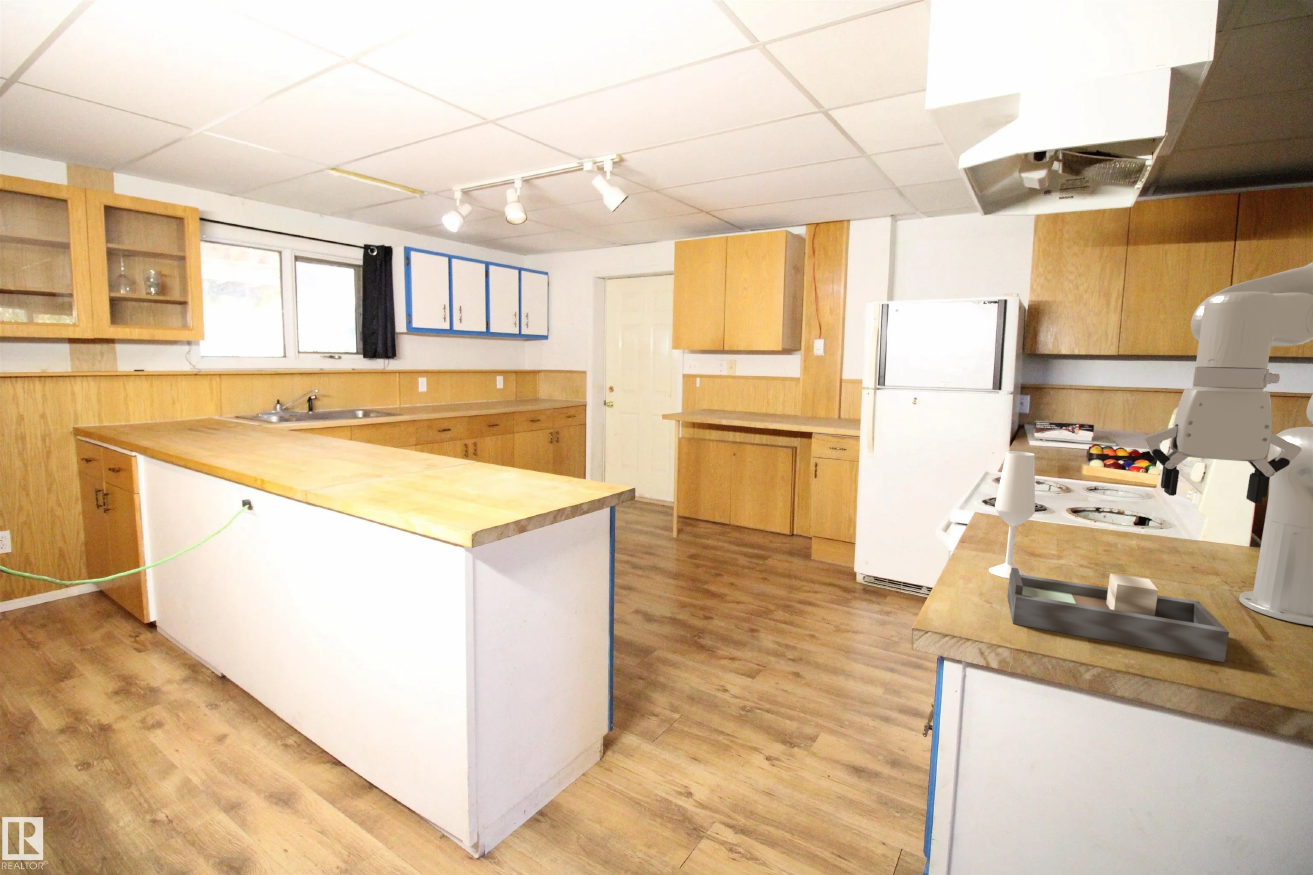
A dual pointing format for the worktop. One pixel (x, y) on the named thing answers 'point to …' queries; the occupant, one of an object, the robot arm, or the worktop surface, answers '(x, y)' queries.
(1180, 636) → the tray
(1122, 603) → the block
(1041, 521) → the worktop surface
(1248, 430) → the robot arm
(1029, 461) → the champagne flute
